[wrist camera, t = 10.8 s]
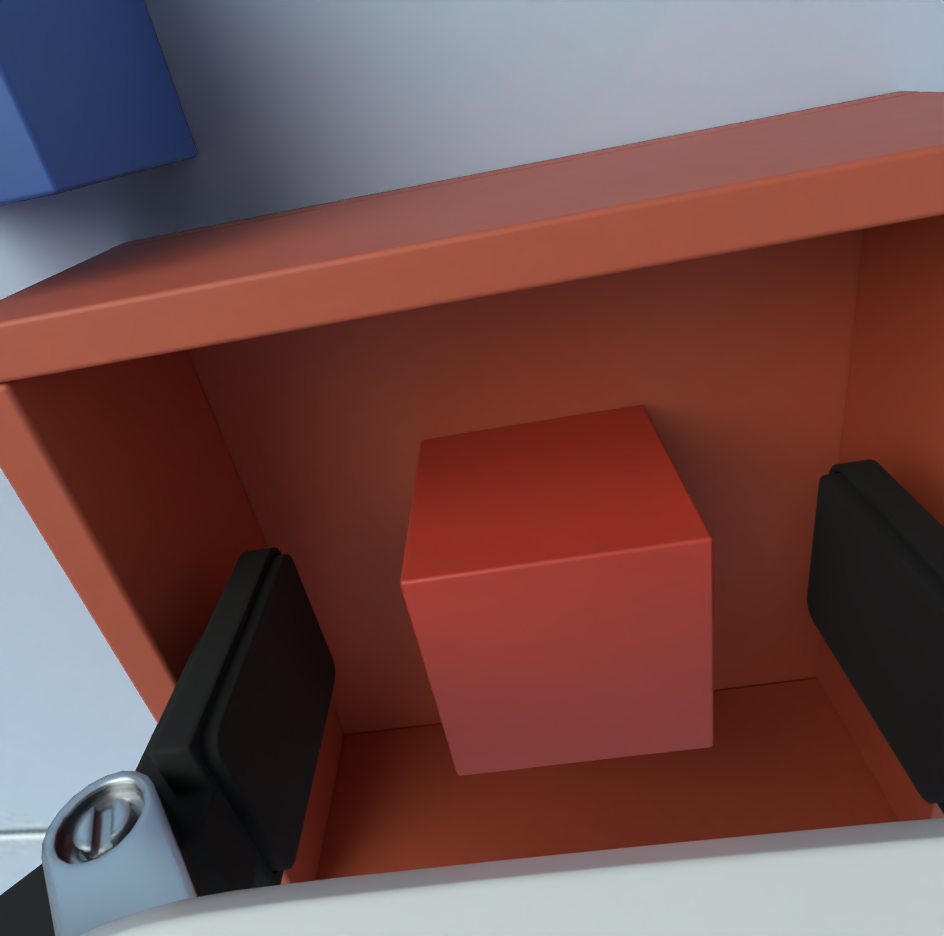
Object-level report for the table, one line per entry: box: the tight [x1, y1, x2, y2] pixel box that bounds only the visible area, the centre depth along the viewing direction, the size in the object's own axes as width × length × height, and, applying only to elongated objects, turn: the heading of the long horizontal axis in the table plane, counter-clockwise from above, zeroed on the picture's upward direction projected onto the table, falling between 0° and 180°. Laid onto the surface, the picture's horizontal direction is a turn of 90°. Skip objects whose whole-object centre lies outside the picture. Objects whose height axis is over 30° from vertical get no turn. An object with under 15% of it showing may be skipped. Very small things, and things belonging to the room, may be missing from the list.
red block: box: [400, 405, 714, 776], centre depth 12 cm, size 4×4×4 cm
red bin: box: [0, 91, 944, 885], centre depth 12 cm, size 13×13×5 cm
